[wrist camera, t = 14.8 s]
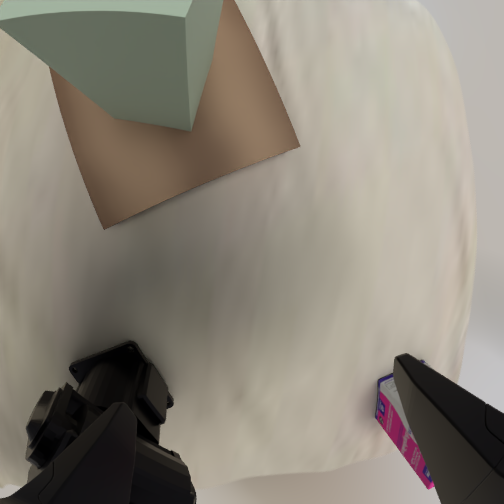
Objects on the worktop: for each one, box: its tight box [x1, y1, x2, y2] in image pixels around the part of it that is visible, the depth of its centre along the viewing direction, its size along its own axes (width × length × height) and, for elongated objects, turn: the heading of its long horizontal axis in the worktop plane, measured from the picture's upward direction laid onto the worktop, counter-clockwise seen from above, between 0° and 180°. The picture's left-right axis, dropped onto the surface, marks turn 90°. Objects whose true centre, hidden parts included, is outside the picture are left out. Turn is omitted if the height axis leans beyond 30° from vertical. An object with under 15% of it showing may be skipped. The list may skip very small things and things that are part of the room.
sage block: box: [0, 0, 223, 131], centre depth 9 cm, size 4×4×12 cm
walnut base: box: [49, 0, 300, 230], centre depth 16 cm, size 12×12×3 cm
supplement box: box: [376, 360, 434, 489], centre depth 21 cm, size 6×6×12 cm
